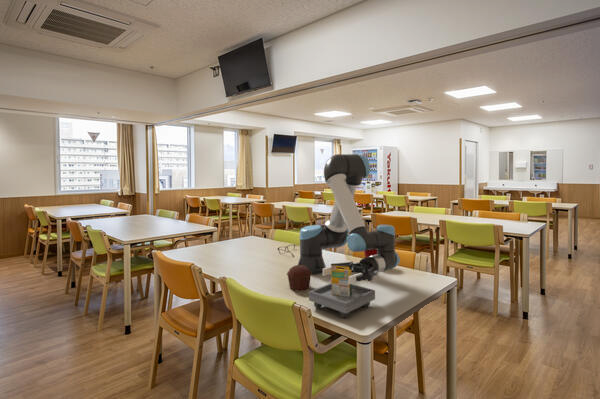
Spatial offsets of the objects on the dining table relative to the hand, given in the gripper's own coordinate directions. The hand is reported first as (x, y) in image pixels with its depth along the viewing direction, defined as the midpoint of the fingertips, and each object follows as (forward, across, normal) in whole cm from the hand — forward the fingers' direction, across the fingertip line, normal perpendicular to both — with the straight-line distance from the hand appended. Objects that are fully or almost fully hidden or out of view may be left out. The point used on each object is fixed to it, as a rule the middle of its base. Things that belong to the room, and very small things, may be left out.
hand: (335, 276), depth 129 cm
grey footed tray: (-3, 0, -13) cm, 13 cm away
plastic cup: (-55, +27, -13) cm, 63 cm away
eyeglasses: (-44, +81, -14) cm, 93 cm away
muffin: (-5, +28, -13) cm, 32 cm away
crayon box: (-3, 0, -8) cm, 9 cm away
